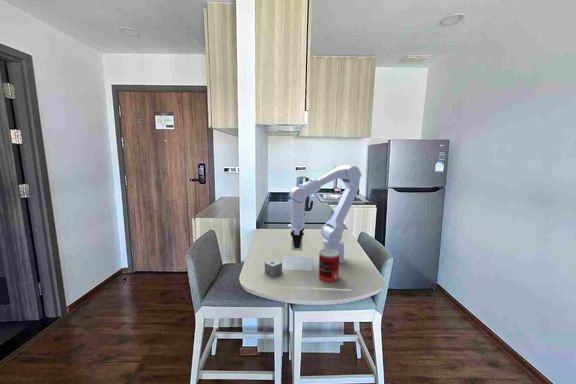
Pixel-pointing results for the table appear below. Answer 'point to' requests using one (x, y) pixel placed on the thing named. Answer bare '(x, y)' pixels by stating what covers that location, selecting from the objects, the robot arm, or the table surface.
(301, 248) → the sage brick
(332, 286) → the table surface
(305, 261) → the plate
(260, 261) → the table surface
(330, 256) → the canned food
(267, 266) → the dice cube
